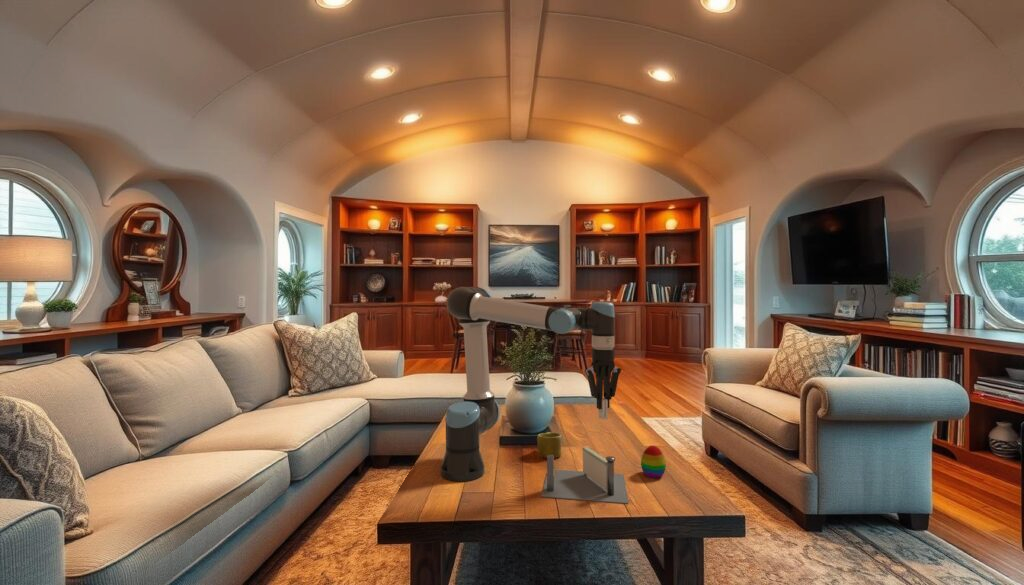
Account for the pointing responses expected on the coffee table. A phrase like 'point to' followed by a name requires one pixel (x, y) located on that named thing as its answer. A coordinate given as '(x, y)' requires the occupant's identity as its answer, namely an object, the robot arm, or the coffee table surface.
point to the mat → (584, 488)
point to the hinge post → (610, 475)
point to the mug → (549, 444)
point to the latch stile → (550, 472)
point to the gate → (595, 466)
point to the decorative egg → (653, 462)
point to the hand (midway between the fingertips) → (603, 418)
